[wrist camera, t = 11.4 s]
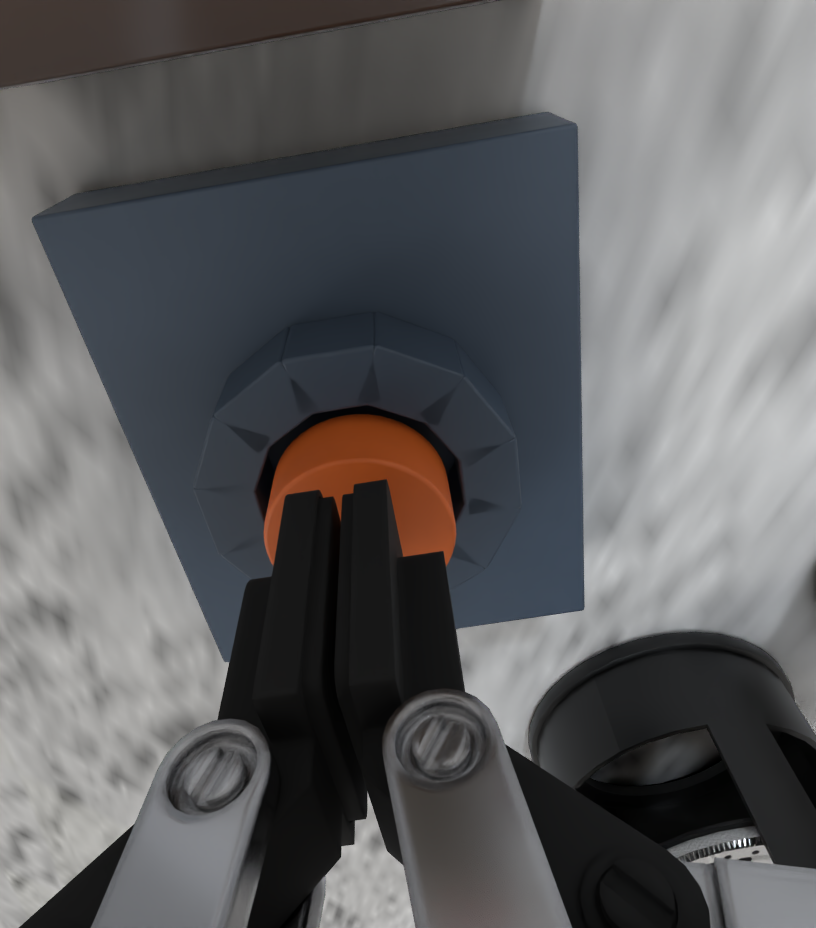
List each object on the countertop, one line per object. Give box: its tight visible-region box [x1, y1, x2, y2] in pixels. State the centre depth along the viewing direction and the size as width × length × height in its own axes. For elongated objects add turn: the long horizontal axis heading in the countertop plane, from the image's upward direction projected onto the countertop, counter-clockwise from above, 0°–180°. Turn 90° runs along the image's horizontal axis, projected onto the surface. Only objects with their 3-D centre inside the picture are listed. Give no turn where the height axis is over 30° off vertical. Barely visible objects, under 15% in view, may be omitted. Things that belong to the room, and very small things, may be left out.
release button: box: [264, 414, 456, 566], centre depth 13 cm, size 4×4×2 cm
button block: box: [32, 112, 584, 662], centre depth 15 cm, size 12×10×4 cm
